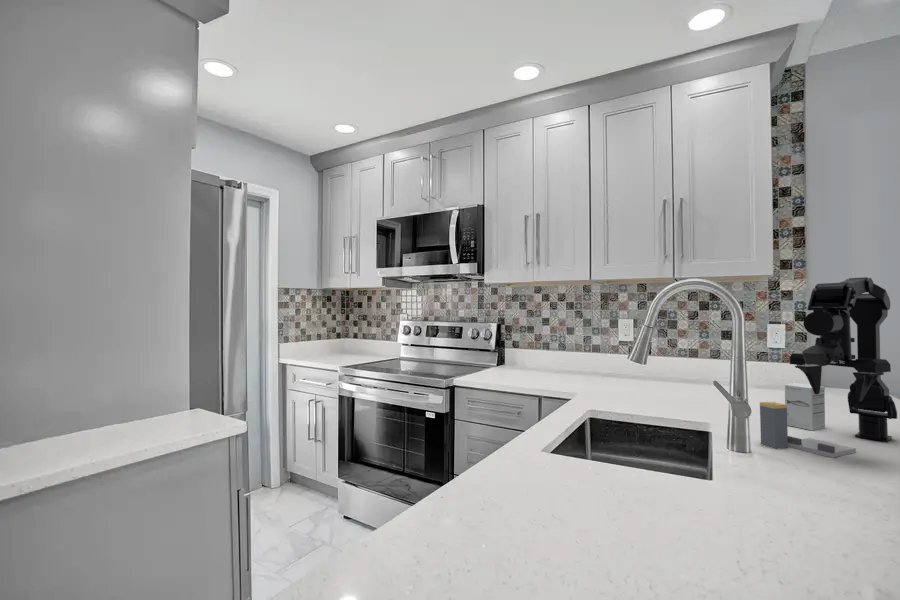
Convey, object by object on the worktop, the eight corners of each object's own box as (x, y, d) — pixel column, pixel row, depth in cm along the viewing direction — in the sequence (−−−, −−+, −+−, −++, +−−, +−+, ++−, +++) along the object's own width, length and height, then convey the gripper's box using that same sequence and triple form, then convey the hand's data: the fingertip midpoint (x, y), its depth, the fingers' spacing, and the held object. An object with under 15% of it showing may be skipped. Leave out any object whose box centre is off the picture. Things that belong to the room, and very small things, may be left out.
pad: (809, 441, 117) (809, 432, 117) (855, 452, 108) (855, 442, 108) (786, 446, 113) (786, 436, 114) (832, 457, 104) (832, 447, 104)
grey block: (773, 443, 116) (772, 401, 116) (788, 447, 112) (786, 404, 112) (760, 444, 115) (759, 402, 115) (775, 449, 111) (773, 405, 112)
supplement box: (784, 425, 134) (783, 384, 135) (798, 422, 137) (797, 382, 138) (812, 431, 128) (811, 387, 128) (826, 428, 131) (825, 385, 131)
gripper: (772, 333, 114) (775, 393, 114) (857, 337, 96) (860, 408, 96) (803, 331, 117) (805, 390, 117) (890, 335, 100) (893, 404, 99)
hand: (837, 397), depth 107 cm, fingers open, 9 cm apart
